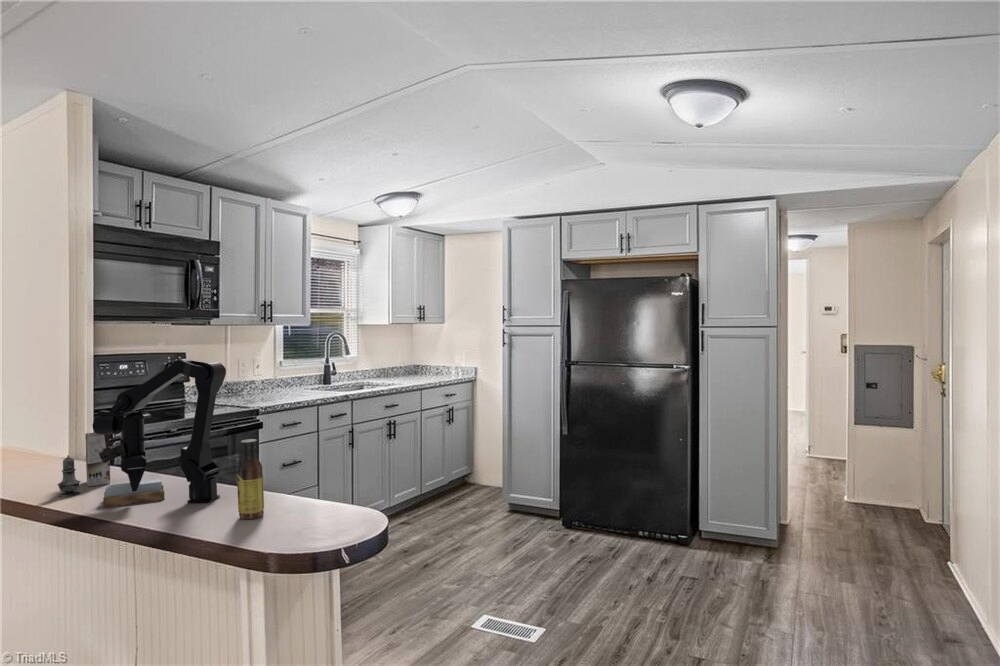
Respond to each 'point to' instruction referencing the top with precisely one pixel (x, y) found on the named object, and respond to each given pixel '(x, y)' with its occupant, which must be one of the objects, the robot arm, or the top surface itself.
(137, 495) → the cradle
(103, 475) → the coffee box
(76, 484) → the salt shaker
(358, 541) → the top surface
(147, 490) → the pale grey-blue bar
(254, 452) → the sauce bottle
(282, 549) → the top surface
